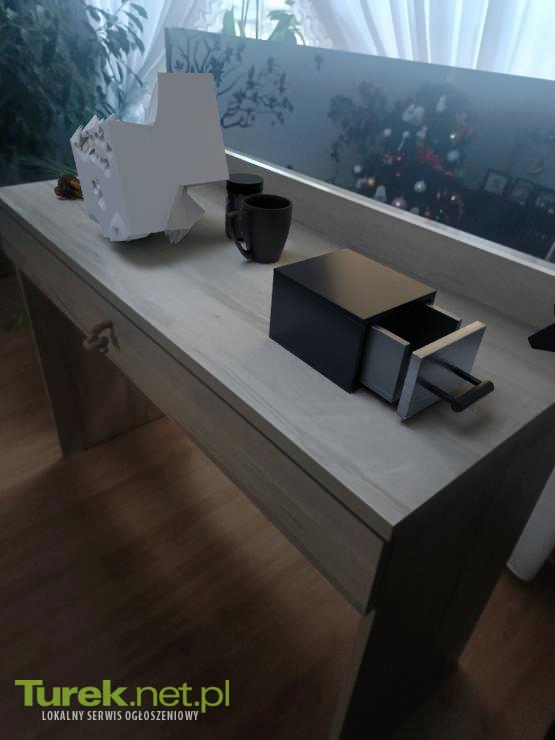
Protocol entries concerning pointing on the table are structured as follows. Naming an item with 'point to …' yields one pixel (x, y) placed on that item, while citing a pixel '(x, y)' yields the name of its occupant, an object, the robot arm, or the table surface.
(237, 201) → the supplement container
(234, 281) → the table surface
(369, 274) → the cabinet
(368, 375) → the drawer
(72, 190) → the brown lumpy mound
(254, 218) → the mug
